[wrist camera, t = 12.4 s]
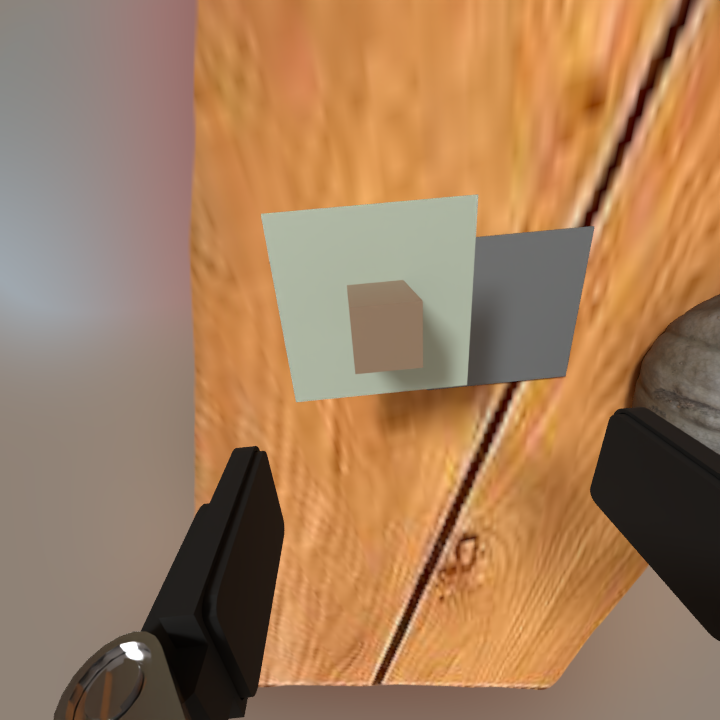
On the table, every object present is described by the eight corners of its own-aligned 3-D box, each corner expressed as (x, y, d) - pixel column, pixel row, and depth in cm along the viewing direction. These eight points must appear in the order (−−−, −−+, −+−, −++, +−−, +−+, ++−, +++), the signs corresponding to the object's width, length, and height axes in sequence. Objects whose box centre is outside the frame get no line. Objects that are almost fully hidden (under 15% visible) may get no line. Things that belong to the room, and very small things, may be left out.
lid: (473, 195, 22) (526, 188, 16) (463, 380, 28) (499, 428, 22) (263, 213, 22) (233, 214, 16) (297, 397, 28) (285, 450, 21)
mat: (591, 226, 36) (594, 226, 35) (563, 374, 43) (565, 376, 43) (426, 241, 36) (427, 242, 35) (426, 388, 43) (427, 390, 43)
